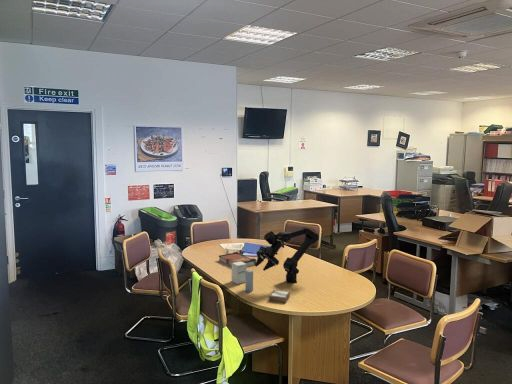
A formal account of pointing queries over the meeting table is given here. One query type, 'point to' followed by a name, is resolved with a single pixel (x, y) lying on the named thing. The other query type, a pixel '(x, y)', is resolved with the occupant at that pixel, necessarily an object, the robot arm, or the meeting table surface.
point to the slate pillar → (248, 280)
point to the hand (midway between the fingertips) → (259, 268)
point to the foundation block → (279, 296)
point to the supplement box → (238, 272)
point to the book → (236, 259)
